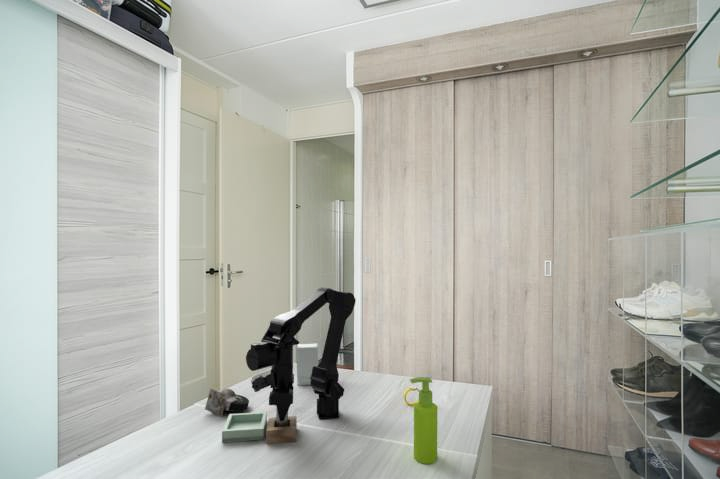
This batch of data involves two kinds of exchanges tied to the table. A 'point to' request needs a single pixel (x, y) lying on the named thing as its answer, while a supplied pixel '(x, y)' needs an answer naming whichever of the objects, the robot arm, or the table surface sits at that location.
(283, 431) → the socket block
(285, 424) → the pin
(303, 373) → the skincare box
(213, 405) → the caster wheel
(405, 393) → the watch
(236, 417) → the tray
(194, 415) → the table surface
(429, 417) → the soap dispenser
